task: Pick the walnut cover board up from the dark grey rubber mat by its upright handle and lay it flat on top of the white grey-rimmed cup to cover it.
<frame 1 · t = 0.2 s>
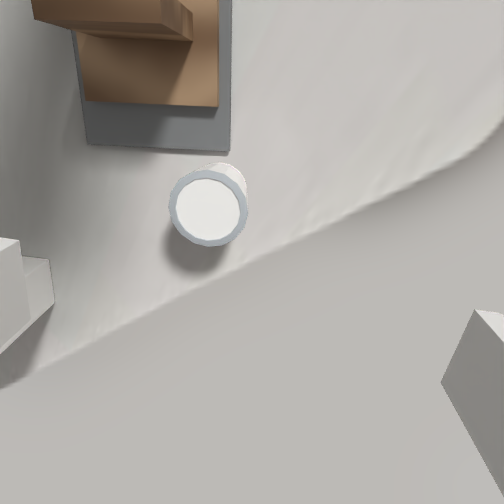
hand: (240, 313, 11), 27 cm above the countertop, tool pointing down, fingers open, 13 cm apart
white grey-rimmed cup: (220, 189, 37), on the countertop
mat: (152, 29, 32), on the countertop
cover board: (149, 28, 31), point 1 cm above the countertop, touching mat
milk: (29, 277, 43), on the countertop
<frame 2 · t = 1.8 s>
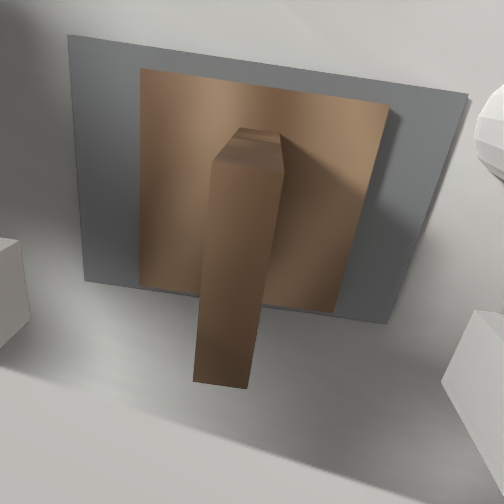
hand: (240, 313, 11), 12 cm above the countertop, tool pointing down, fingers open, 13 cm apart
mat: (250, 197, 21), on the countertop
cover board: (250, 200, 21), point 1 cm above the countertop, touching mat
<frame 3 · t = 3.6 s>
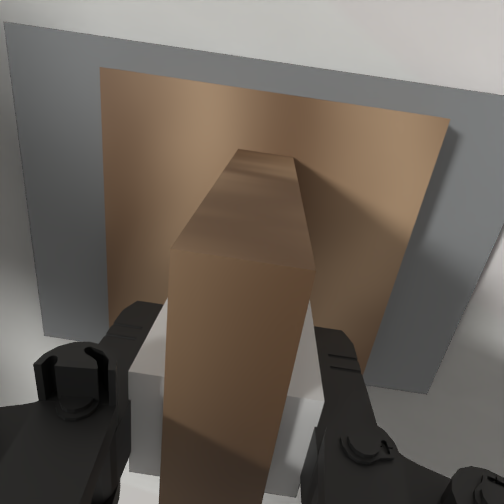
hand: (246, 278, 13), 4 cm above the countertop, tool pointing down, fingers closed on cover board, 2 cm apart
mat: (253, 236, 16), on the countertop
cover board: (252, 241, 16), point 1 cm above the countertop, touching gripper, mat
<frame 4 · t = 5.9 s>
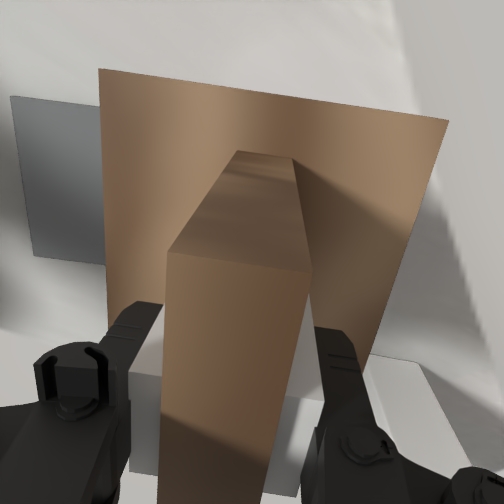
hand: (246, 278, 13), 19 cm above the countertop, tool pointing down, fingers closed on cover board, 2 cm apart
mat: (139, 196, 32), on the countertop
cover board: (252, 242, 16), point 16 cm above the countertop, touching gripper
milk: (380, 377, 39), on the countertop
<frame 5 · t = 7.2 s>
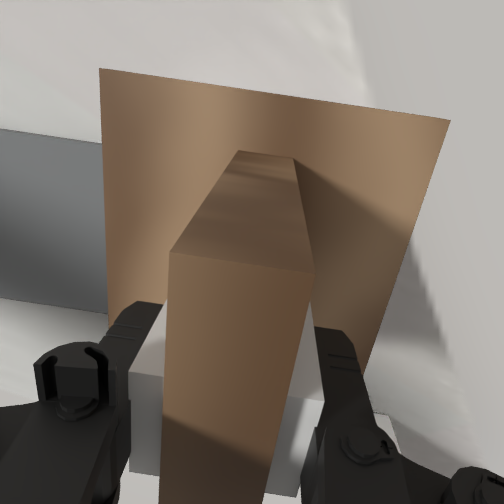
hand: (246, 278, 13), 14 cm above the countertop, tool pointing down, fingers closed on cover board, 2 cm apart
mat: (73, 230, 28), on the countertop
cover board: (252, 242, 16), point 11 cm above the countertop, touching gripper
milk: (348, 428, 36), on the countertop
when the fingers open (12 cm above the countertop, at t = 8.3 s): cover board drops 2 cm, resting on white grey-rimmed cup.
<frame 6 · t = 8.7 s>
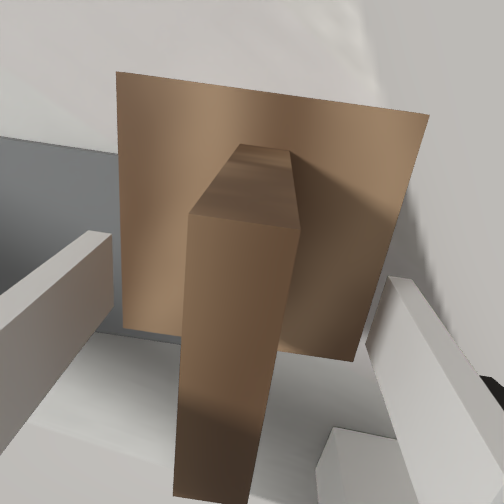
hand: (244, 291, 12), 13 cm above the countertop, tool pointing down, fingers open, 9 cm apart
mat: (58, 242, 26), on the countertop
cover board: (253, 228, 17), point 7 cm above the countertop, touching white grey-rimmed cup
milk: (354, 452, 33), on the countertop
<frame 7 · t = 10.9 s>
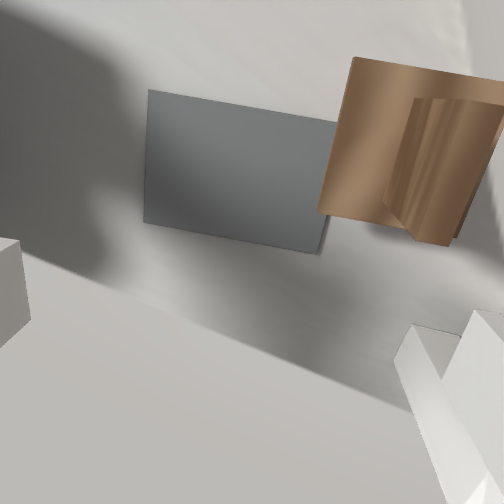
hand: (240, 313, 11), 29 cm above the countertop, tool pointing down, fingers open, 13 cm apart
mat: (238, 176, 39), on the countertop
cover board: (405, 152, 30), point 7 cm above the countertop, touching white grey-rimmed cup
milk: (424, 347, 45), on the countertop
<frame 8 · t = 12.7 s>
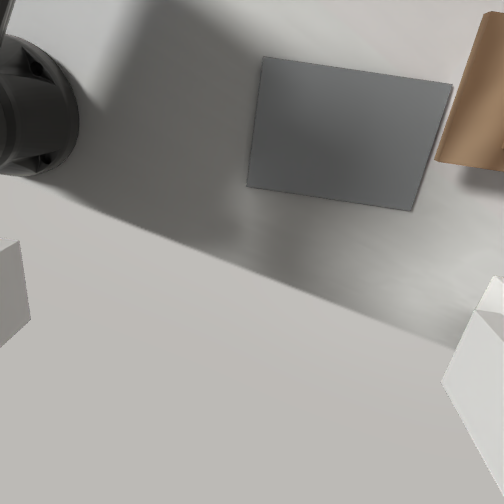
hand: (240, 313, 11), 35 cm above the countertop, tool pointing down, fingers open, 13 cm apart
mat: (341, 138, 41), on the countertop
milk: (503, 297, 49), on the countertop
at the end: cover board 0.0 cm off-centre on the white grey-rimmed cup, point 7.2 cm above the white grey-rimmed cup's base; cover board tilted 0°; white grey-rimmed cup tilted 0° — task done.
